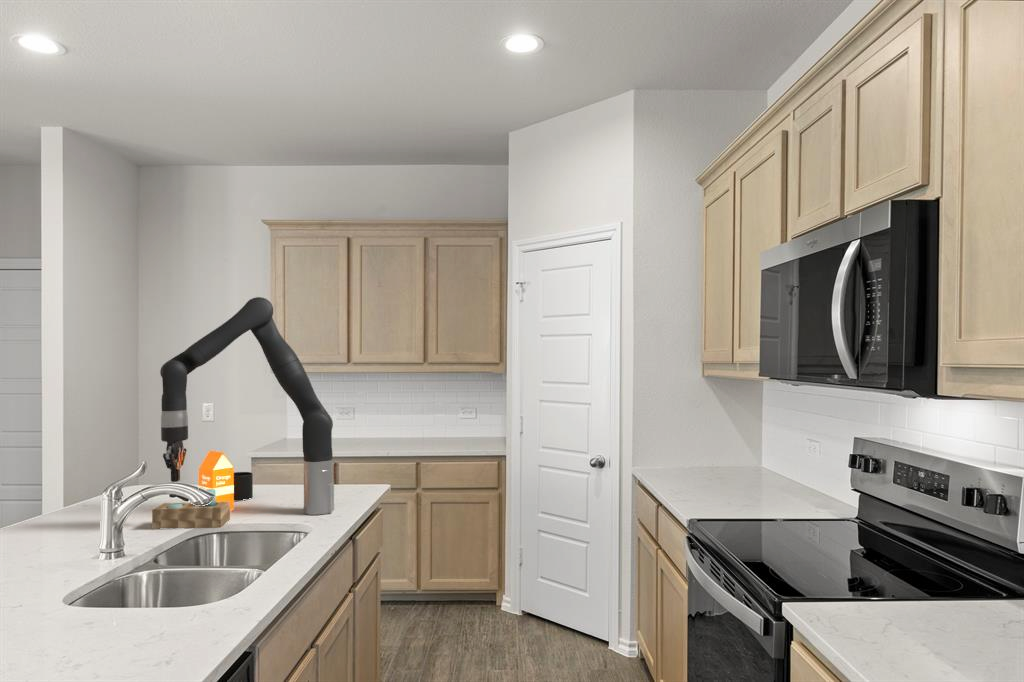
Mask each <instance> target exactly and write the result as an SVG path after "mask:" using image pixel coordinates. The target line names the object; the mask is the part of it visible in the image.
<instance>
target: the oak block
mask: <svg viewBox="0 0 1024 682" xmlns="http://www.w3.org/2000/svg"><path fill="white" fill-rule="evenodd" d="M171 504H182V507H175V508H168V505H171ZM151 517H152V520H151V522H152V523H151V525H152V527H151V529H152V530H161V529H160V528H184V529H208V528H209V529H210V528H213V529H214V528H222V527H223V526H225V525H226V524H227V523H228V522H227V521H229V520H230V521H231V511H230V501H226V502H216V506H209V507H202V506H195V505H193V504H191V502H164V503H162V504H160V505H158V506H156V507H155V508H152V510H151ZM230 521H229V522H230ZM226 522H227V523H226ZM225 523H226V524H225ZM224 524H225V525H224ZM200 527H201V528H200Z"/></svg>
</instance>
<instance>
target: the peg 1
mask: <svg viewBox="0 0 1024 682" xmlns="http://www.w3.org/2000/svg"><path fill="white" fill-rule="evenodd" d="M175 507H182V504H171V505H168V508H175Z"/></svg>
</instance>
